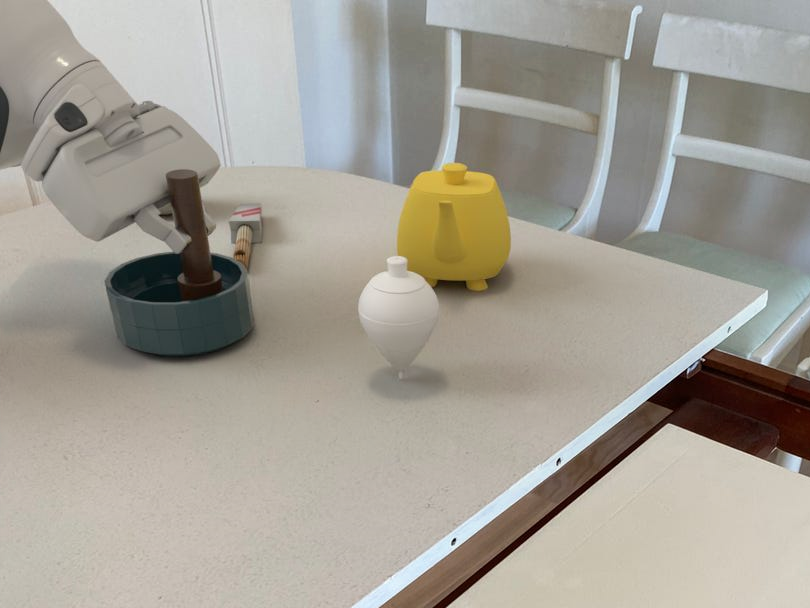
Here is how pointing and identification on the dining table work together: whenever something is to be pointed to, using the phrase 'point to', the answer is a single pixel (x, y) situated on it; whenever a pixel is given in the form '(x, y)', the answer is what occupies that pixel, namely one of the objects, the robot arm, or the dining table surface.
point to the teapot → (454, 227)
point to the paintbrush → (246, 230)
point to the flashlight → (196, 257)
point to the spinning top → (398, 313)
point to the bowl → (177, 306)
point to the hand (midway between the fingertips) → (197, 240)
